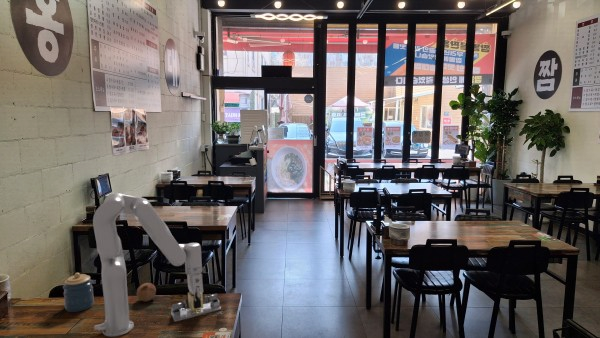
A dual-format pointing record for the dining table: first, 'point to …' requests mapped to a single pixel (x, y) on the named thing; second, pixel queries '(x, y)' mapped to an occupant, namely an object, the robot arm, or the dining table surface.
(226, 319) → the dining table surface
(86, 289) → the canister
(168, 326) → the dining table surface
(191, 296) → the tan wooden cube
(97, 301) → the dining table surface
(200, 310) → the shaft bench
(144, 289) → the onion
